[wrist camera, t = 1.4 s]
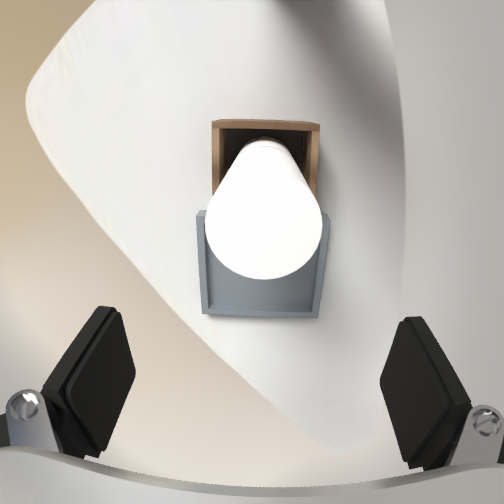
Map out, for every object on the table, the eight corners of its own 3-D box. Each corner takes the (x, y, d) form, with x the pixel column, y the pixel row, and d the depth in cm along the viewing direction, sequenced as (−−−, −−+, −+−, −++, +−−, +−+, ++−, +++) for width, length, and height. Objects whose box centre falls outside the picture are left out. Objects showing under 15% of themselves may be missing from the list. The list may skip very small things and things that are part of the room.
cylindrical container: (299, 175, 43) (337, 255, 20) (251, 196, 44) (236, 294, 22) (278, 127, 40) (295, 149, 18) (229, 149, 42) (184, 200, 19)
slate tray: (199, 210, 45) (196, 215, 43) (326, 214, 45) (330, 220, 43) (204, 304, 52) (202, 313, 50) (315, 308, 52) (317, 317, 49)
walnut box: (221, 119, 40) (211, 121, 33) (310, 122, 40) (319, 124, 32) (221, 202, 45) (213, 221, 38) (305, 205, 45) (313, 224, 37)
